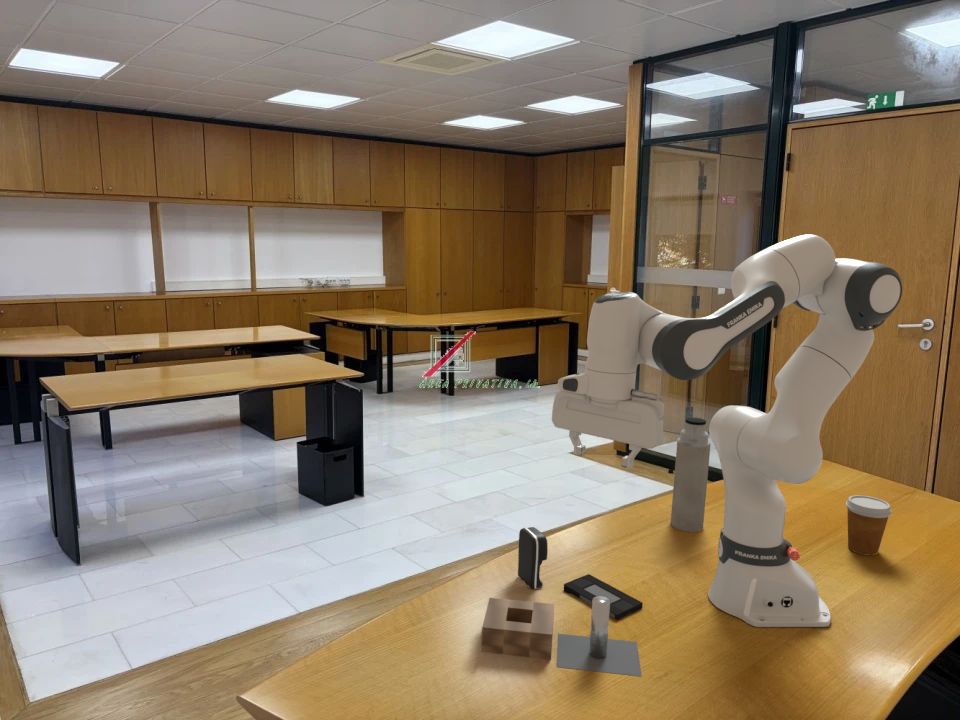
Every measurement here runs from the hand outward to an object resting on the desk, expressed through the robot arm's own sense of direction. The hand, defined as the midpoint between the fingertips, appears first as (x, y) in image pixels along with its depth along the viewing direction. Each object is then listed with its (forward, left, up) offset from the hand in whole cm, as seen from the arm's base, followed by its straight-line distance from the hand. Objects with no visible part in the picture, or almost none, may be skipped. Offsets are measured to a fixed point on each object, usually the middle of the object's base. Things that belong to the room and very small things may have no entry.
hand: (602, 461), depth 123 cm
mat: (-1, +9, -32) cm, 34 cm away
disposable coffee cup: (-65, -46, -33) cm, 86 cm away
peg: (-1, +9, -32) cm, 33 cm away
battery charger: (+12, -15, -33) cm, 38 cm away
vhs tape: (-2, -10, -33) cm, 35 cm away
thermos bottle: (-25, -52, -33) cm, 66 cm away
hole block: (+13, +7, -32) cm, 36 cm away
